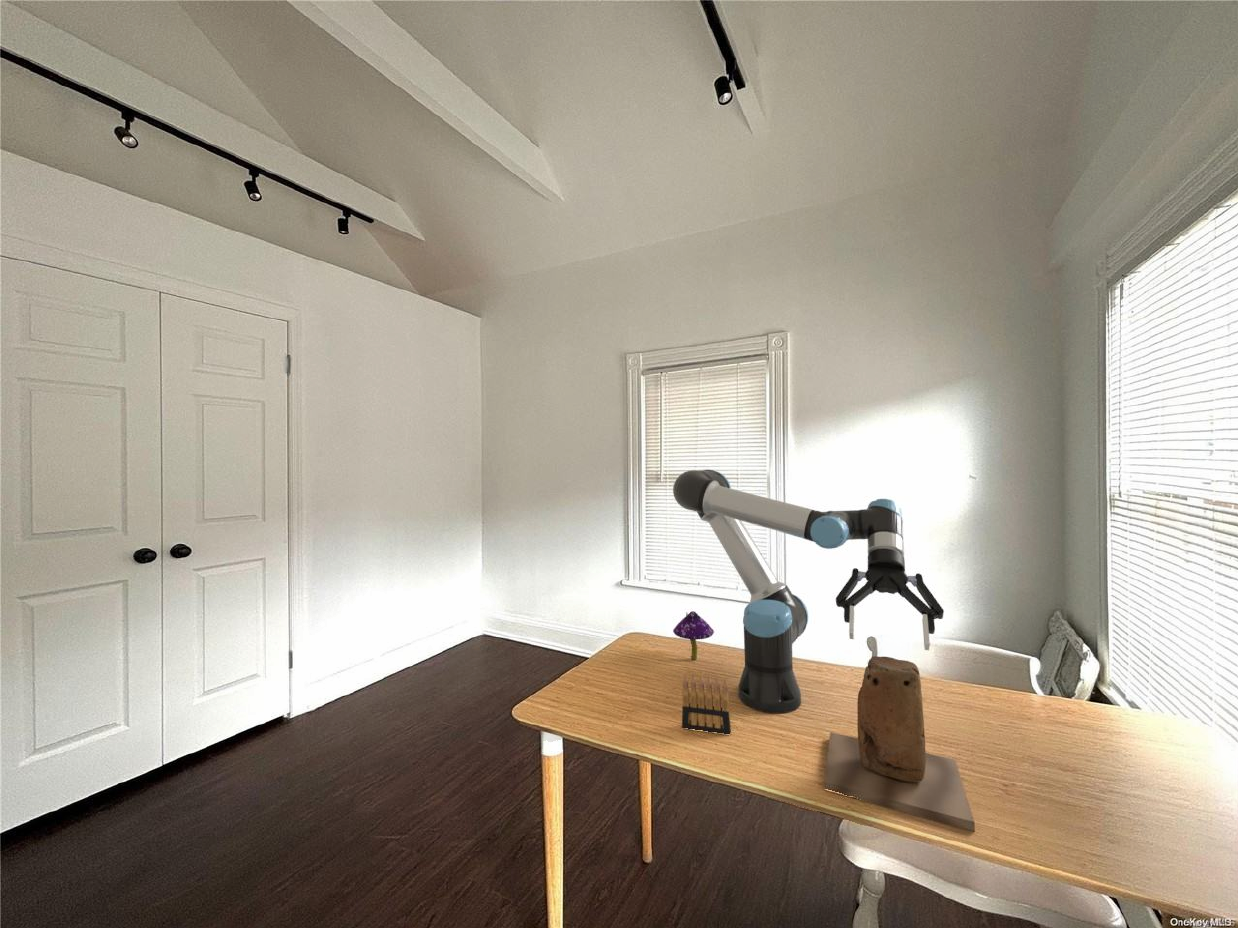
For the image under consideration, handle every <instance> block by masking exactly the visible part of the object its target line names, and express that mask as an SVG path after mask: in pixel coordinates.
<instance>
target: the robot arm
mask: <svg viewBox="0 0 1238 928" xmlns="http://www.w3.org/2000/svg"><path fill="white" fill-rule="evenodd" d="M672 487H673V488H672V492H673V497H674V499H675V502H676V503H677V504H678V505H679V506H681V508H683V509H685V510H688V511H693V512H696V513H697V515H698V516H699V518H700V520H701V521H704V522H706V523H708V524H709V526H710V527H711V530H712V531H713V532H714V534H715V535H716V537H717V540H718V541H719V543H720V545H721V546H722V548H723V550H724V551H725V553H726V555H727V556H728V558H729V559H730V561H731V564H732V565H733V567H734V569H735V570H736V571H737V573H738V575H739V577H740V579H741V580H742V581H743V584H744V585H745V588H747V591H748V592H749V594H750V601H749V603H748V604H747V605H746V606H745V607H744V610H743V617H742V619H743V620H742V622H743V623H742V624H743V641H744V642H743V643H744V646H743V647H744V648H743V649H744V651H743V652H744V667H743V671H742V674H741V677H740V679H739V682H738V690H737V691H738V698H739V699H740V701H741V702H742V703H743V704H745V705H746V706H748V707H750V708H751V709H752V708H753V709H754V710H757V711H762V712H765V713H774V714H776V713H778V714H780V713H781V714H782V713H790V712H793V711H795V710H797V709H799V708H800V707H801V705H802V694H801V693H802V692H801V690H800V687H799V684H798V682H797V679H796V676H795V673H794V670H793V669H794V668H793V667H794V666H793V644H794V642H796V640H798V638H799V637H801V636H802V634H803V633H804V632H805V630H806V629H807V625H808V622H809V611H808V609H807V605H806V604H805V603H804V601H803V600H802V599H801V598H800V597H799V596H797V595H795V594H794V593H792V591H791V590H790V588H789V586H788V585H787V583H784V582H780V581H779V580H778V579H777V578H776V576H775V574H774V572H773V571H772V569H771V567H770V566H769V564H768V562H767V561H766V559H765V558H764V556H763V554H762V552H761V551H760V549H759V548H758V546H757V545H756V543H755V541H754V540H753V538H752V536H751V535H750V533H749V531H748V530H747V528H746V526H745V524H744V522H745V523H748V524H752V525H755V526H758V527H762V528H766V529H768V530H771V531H772V530H773V531H776V532H779V533H783V534H787V535H789V536H793V537H797V538H801V539H804V540H808V541H810V542H813V543H814V544H816V545H817V546H818V547H820V548H823V549H826V550H827V549H829V550H830V549H831V550H832V549H836V548H840V547H841V546H843V545H844V544H845V543H846V542H847V541H848V540H849V541H850V540H851V541H853V540H867V570H865V571H860V570H859V569H858V568H856V567H854V568H853V569H852V571H851V576H850V577H849V579H848V580H847V582H846V583H845V584H844V586H843V587H842V588H841V590H840V592H839V593H837V596H836V597H835V604H836V606H837V607H838V608H843V618H844V619H843V620H844V623H847V624H848V623H849V625H848V627H849V629H848V633H849V634H848V635H849V640H855V639H854V637H855V634H854V633H855V607H856V606H857V605H858V604H860V603H861V601H863V600H864V599H866V598H867V597H868V596H869V595H873V593H874V592H876V591H877V592H878V593H882V594H885V593H888V594H892V595H895V594H896V593H897V594H898V595H900V597H902V598H904V599H905V600H906V601H907V602H908V603H909V604H910V605H912V606H913V607H914V609H916V611H918V612H919V613H920V614H921V615H922V620H921V621H922V632H923V633H922V634H923V644H924V645H923V647H924V651H930V646H931V643H930V635H934V634H935V632H936V631H935V630H936V628H935V627H936V626H935V620H937V619H938V620H943V618H944V612H945V611H944V609H943V607H942V606H941V604H940V603H939V601H938V600H937V599H936V597H935V596H934V595H933V593H932V592H931V591H930V589H929V588H928V586H927V585H926V584H925V582H924V579H923V576H922V574H921V573H916V574H915V575H908V574H907V573H906V564H905V563H906V562H905V547H904V543H905V542H904V526H903V525H904V523H903V522H904V521H903V516H902V515H903V514H902V509H901V506H900V505H899V503H897V502H896V501H894V500H892V499H889V498H878V499H876V500H871V501H870V502H869V503H868V506H867V508H865V509H864V508H863V509H859V510H857V509H856V510H828V511H820V510H815V509H811V508H807V507H803V506H800V505H797V504H796V505H795V504H792V503H788V502H785V501H780V500H776V499H774V498H773V499H772V498H770V497H769V498H768V497H765V496H761V495H757V494H752V493H749V492H746V491H745V492H744V491H741V490H737V489H734V488H731V484H730V481H729V480H728V478H727V477H726V476H725V475H724V474H722V473H721V472H719V471H717V470H713V469H702V470H701V469H700V470H695V469H694V470H693V469H692V470H687V471H683V472H682V473H681V474H680V475H679V476H678V477H677V478H676V479H675V482H674V483H673V486H672ZM863 579H865V580H866V582H865V584H864V585H863V586H861V587H860V588H859V589H858V590H856V591H855V592H854V593H853V594H852V592H853V591H854V590H855V588H856V587H857V585H858V583H859V582H861V581H862V580H863ZM908 583H911V585H912V586H913V587H916V590H917V592H918V593H919V594H920V596H921V597H922V599H921V598H919V597H918V596H917V595H916V594H915V593H914V592H913V591H912V590H911V589H910V588H909V586H908V585H907V584H908ZM851 594H852V595H851ZM922 600H924V601H922Z"/></svg>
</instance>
